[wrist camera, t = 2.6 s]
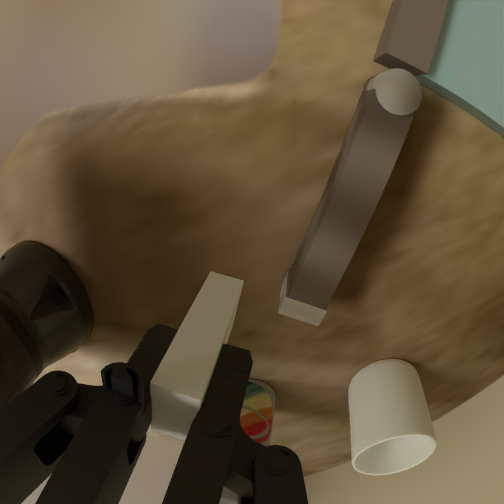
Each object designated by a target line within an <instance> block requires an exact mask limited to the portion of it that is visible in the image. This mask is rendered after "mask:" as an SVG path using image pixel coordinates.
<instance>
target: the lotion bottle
mask: <svg viewBox="0 0 504 504" xmlns="http://www.w3.org/2000/svg"><path fill="white" fill-rule="evenodd" d="M275 401H276V396H275V392H274V390H273V389H272V388H271V387H270V386H269V385H268V384H266V383H264V382H262V381H259V380H254V379H249V381H248V385H247V389H246V393H245V398H244V402H243V406H242V410H241V414H240V423H241V427H242V429H243V431H244V432H245V433H246V434H247V435H248V436H249V437H250V438H252V439H253V440H255V441H256V442H258V443H260V444H262V445H264V446H266V447H267V446H270V439H271V432H272V425H273V418H274V410H275ZM219 504H238V496H237V494H236V493H234V492H232V491H231V490H229V489H227V488H226V487H223V491H222V495H221V499H220V503H219Z"/></svg>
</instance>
